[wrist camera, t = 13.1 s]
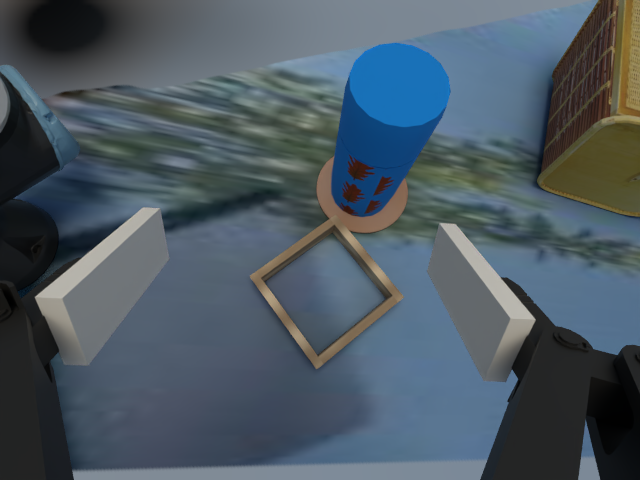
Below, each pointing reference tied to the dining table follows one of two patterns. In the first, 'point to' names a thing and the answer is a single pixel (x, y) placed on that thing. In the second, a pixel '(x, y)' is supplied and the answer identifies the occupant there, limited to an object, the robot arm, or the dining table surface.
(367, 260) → the square frame
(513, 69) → the dining table surface
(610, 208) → the picnic basket
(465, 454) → the dining table surface
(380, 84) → the thermos
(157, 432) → the dining table surface
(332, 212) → the saucer
